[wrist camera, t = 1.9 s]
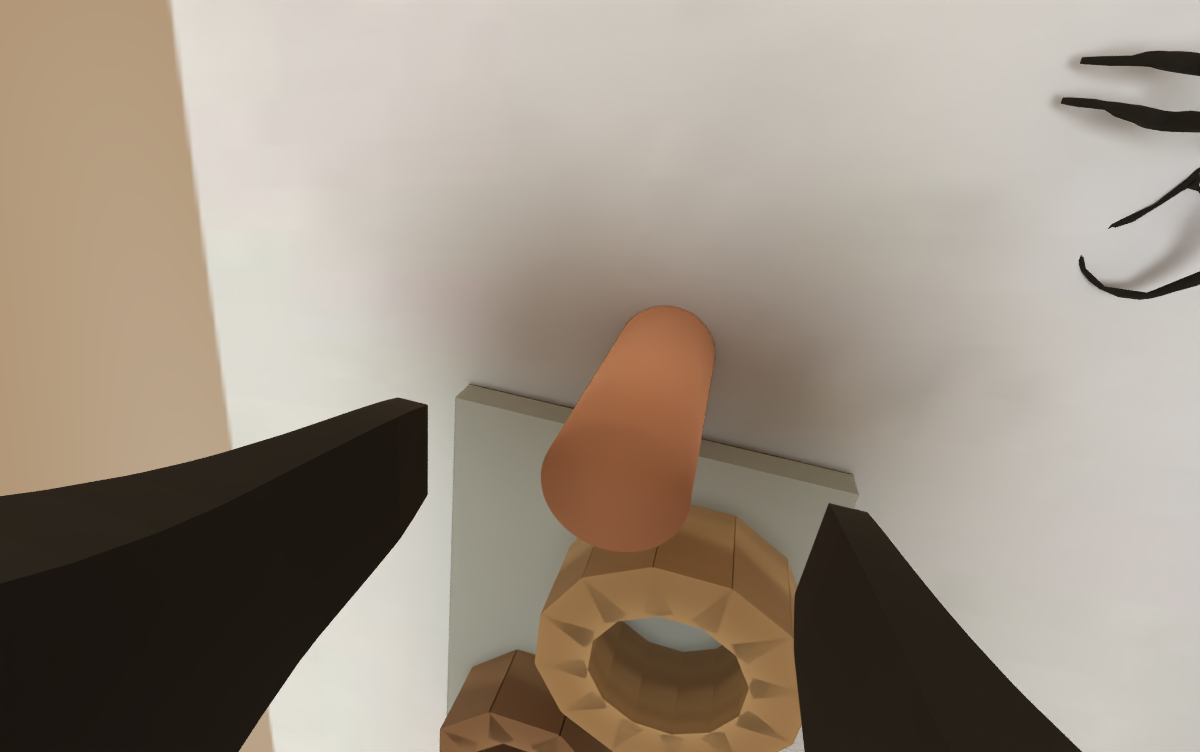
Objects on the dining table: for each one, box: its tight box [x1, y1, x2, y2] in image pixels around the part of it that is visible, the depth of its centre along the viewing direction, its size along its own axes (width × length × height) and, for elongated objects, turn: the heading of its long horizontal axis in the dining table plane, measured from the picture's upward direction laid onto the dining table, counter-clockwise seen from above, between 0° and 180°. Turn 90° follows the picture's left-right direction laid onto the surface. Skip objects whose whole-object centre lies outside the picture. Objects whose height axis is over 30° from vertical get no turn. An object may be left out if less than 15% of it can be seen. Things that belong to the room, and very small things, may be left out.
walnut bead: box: [440, 649, 612, 752], centre depth 22 cm, size 6×6×3 cm
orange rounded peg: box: [541, 306, 715, 552], centre depth 14 cm, size 3×3×7 cm
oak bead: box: [535, 504, 802, 752], centre depth 18 cm, size 8×8×3 cm
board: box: [447, 384, 858, 752], centre depth 21 cm, size 16×12×1 cm
